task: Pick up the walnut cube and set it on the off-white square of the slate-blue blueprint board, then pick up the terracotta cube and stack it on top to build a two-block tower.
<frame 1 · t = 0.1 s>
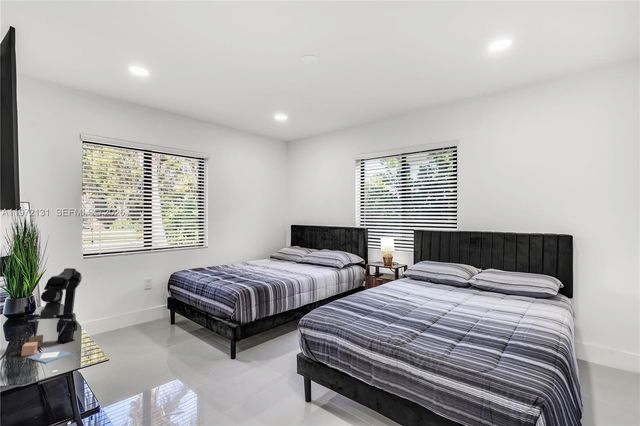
hand: (47, 335, 150), 15 cm above the table, tool pointing down, fingers open, 9 cm apart
terracotta block: (29, 353, 162), on the table
blueprint board: (49, 356, 161), on the table
walnut block: (35, 345, 172), on the table
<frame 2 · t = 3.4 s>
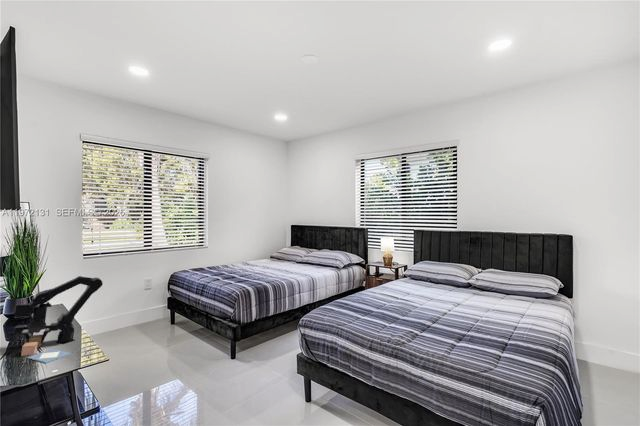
hand: (35, 343, 172), 1 cm above the table, tool pointing down, fingers closed on walnut block, 5 cm apart
walnut block: (35, 345, 172), on the table, touching gripper
everything else where it was.
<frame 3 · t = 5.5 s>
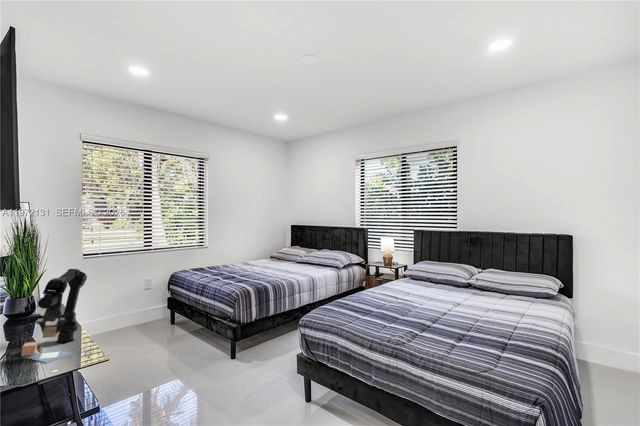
hand: (50, 333, 162), 11 cm above the table, tool pointing down, fingers closed on walnut block, 5 cm apart
walnut block: (50, 335, 162), point 10 cm above the table, touching gripper
everything else where it was.
when the fingers open (3 cm above the table, at t = 8.1 s): walnut block stays where it is, resting on blueprint board.
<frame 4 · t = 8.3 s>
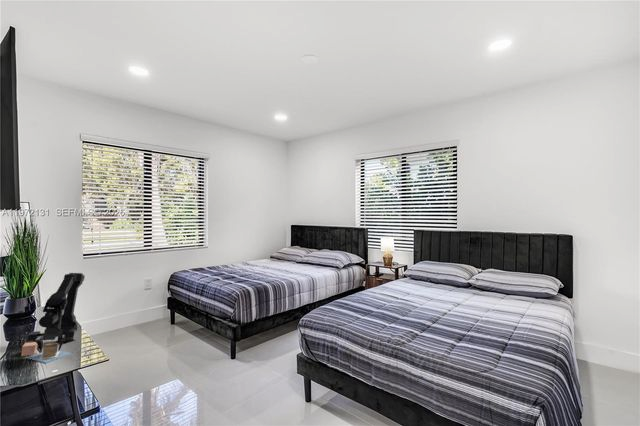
hand: (50, 351, 161), 3 cm above the table, tool pointing down, fingers open, 7 cm apart
walnut block: (49, 355, 161), point 1 cm above the table, touching blueprint board
everything else where it was.
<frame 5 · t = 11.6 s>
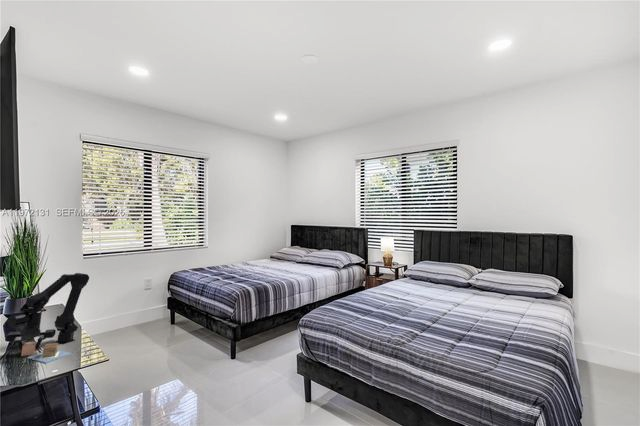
hand: (29, 351, 162), 1 cm above the table, tool pointing down, fingers closed on terracotta block, 5 cm apart
terracotta block: (29, 353, 162), on the table, touching gripper
everything else where it was.
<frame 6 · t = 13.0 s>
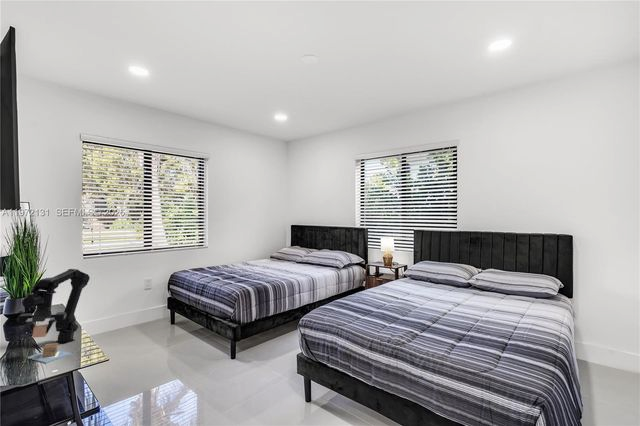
hand: (40, 333, 162), 11 cm above the table, tool pointing down, fingers closed on terracotta block, 5 cm apart
terracotta block: (40, 335, 162), point 10 cm above the table, touching gripper
everything else where it was.
when the fingers open (8 cm above the table, at t = 14.5 s): terracotta block drops 1 cm, resting on walnut block.
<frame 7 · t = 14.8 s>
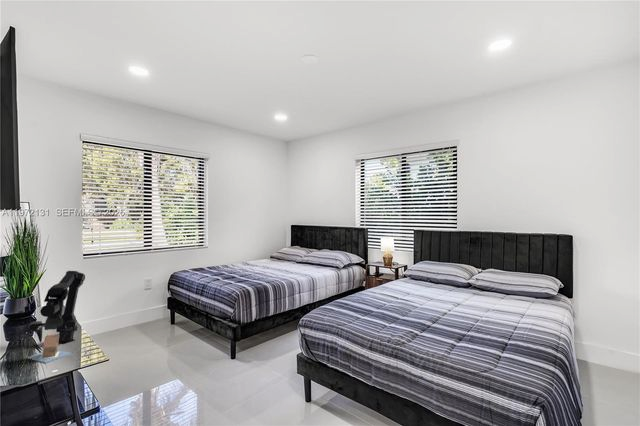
hand: (51, 341, 161), 8 cm above the table, tool pointing down, fingers open, 8 cm apart
terracotta block: (51, 345, 161), point 6 cm above the table, touching walnut block
walnut block: (49, 355, 161), point 1 cm above the table, touching blueprint board, terracotta block
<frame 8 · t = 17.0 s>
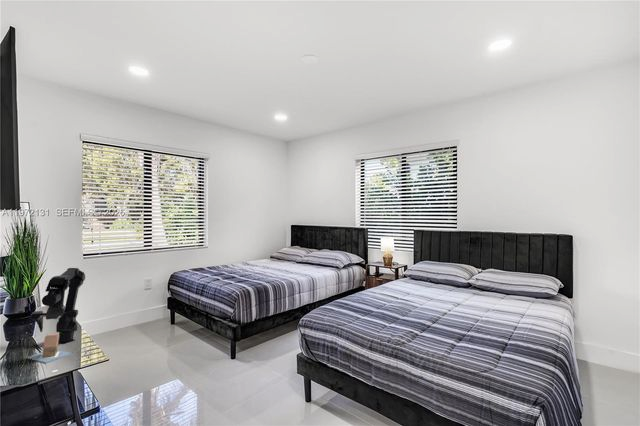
hand: (52, 331, 161), 13 cm above the table, tool pointing down, fingers open, 9 cm apart
nothing on the table moved.
at the end: walnut block 0.0 cm off-centre on the blueprint board, point 0.6 cm above the blueprint board's base; terracotta block 0.0 cm off-centre on the walnut block, point 5.0 cm above the walnut block's base; terracotta block tilted 0° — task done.
